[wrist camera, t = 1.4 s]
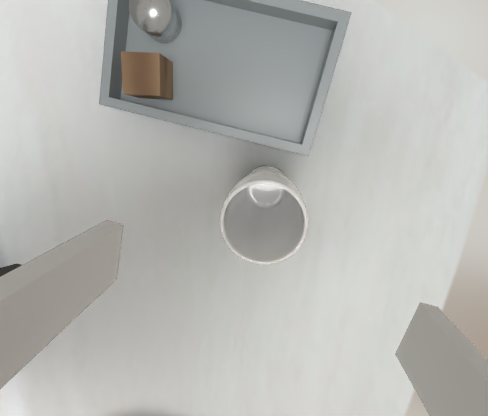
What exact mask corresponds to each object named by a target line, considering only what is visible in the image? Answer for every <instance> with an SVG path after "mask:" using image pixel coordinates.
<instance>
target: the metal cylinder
mask: <svg viewBox="0 0 488 416" xmlns="http://www.w3.org/2000/svg"><path fill="white" fill-rule="evenodd" d="M129 12H130V15H131V18H132V20H133V21H134V23H135V24H136V25H137V26H138V27H139V28H141V29H142V30H143V31H144V32H146V33H147V34H148V35H149V36H151V37H152V38H153V39H154V40H156V41H158V42H160V43H170V42H172V41H174V40H175V39H176V38H177V37H178V35H179V34H180V31H181V27H182V20H181V16H180V13H179V11H178V10H177V9H176V7H175V6H174V5H173V3H172V2H171V1H170V0H129Z"/></svg>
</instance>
